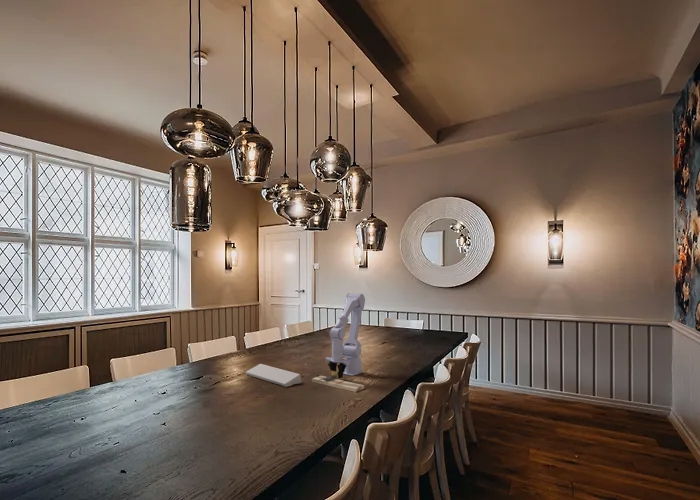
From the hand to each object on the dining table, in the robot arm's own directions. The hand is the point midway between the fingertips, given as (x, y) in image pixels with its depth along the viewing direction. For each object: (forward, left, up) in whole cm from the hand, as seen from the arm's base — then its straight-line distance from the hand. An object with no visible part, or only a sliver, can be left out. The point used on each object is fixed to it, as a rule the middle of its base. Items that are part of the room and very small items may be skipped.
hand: (337, 377), depth 195 cm
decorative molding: (+18, -29, -2) cm, 35 cm away
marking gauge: (+4, 0, -2) cm, 4 cm away
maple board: (+7, +5, -2) cm, 8 cm away
